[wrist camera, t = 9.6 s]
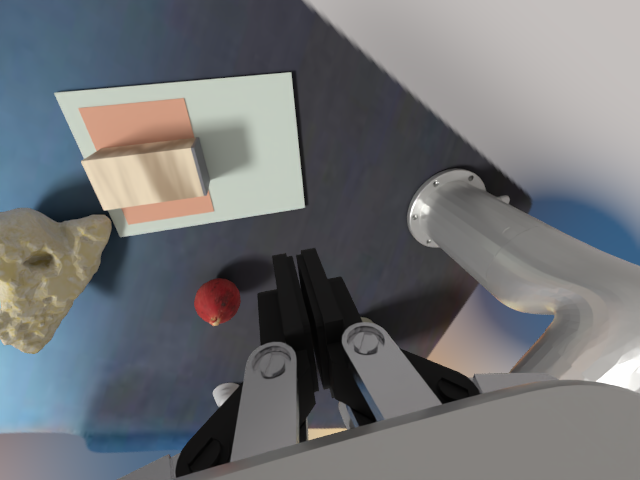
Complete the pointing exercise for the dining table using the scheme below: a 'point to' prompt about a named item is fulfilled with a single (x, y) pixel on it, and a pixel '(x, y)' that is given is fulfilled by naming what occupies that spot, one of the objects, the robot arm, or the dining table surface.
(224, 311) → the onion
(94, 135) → the mat
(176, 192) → the maple block
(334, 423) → the dining table surface
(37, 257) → the beige rock
